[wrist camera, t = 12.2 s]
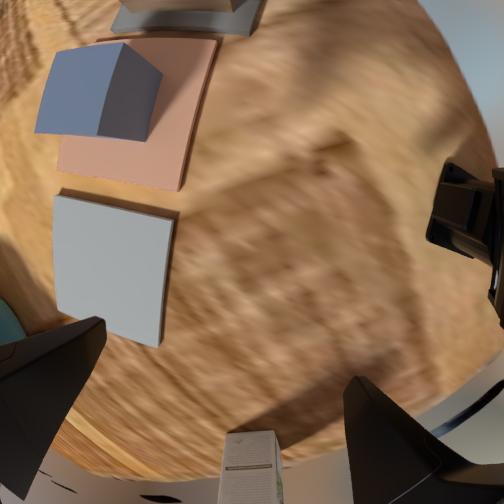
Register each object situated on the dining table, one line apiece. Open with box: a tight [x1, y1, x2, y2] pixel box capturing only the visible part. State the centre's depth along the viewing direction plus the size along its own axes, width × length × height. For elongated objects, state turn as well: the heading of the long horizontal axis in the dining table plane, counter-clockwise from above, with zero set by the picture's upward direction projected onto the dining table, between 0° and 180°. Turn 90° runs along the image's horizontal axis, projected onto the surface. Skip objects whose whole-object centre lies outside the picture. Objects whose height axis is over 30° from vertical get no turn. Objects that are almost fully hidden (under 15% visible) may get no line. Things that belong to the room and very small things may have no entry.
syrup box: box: [218, 430, 284, 504], centre depth 19 cm, size 6×6×14 cm
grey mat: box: [53, 194, 174, 348], centre depth 19 cm, size 11×11×1 cm
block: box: [34, 42, 163, 142], centre depth 12 cm, size 5×5×6 cm
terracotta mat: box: [57, 38, 218, 192], centre depth 16 cm, size 11×11×1 cm
